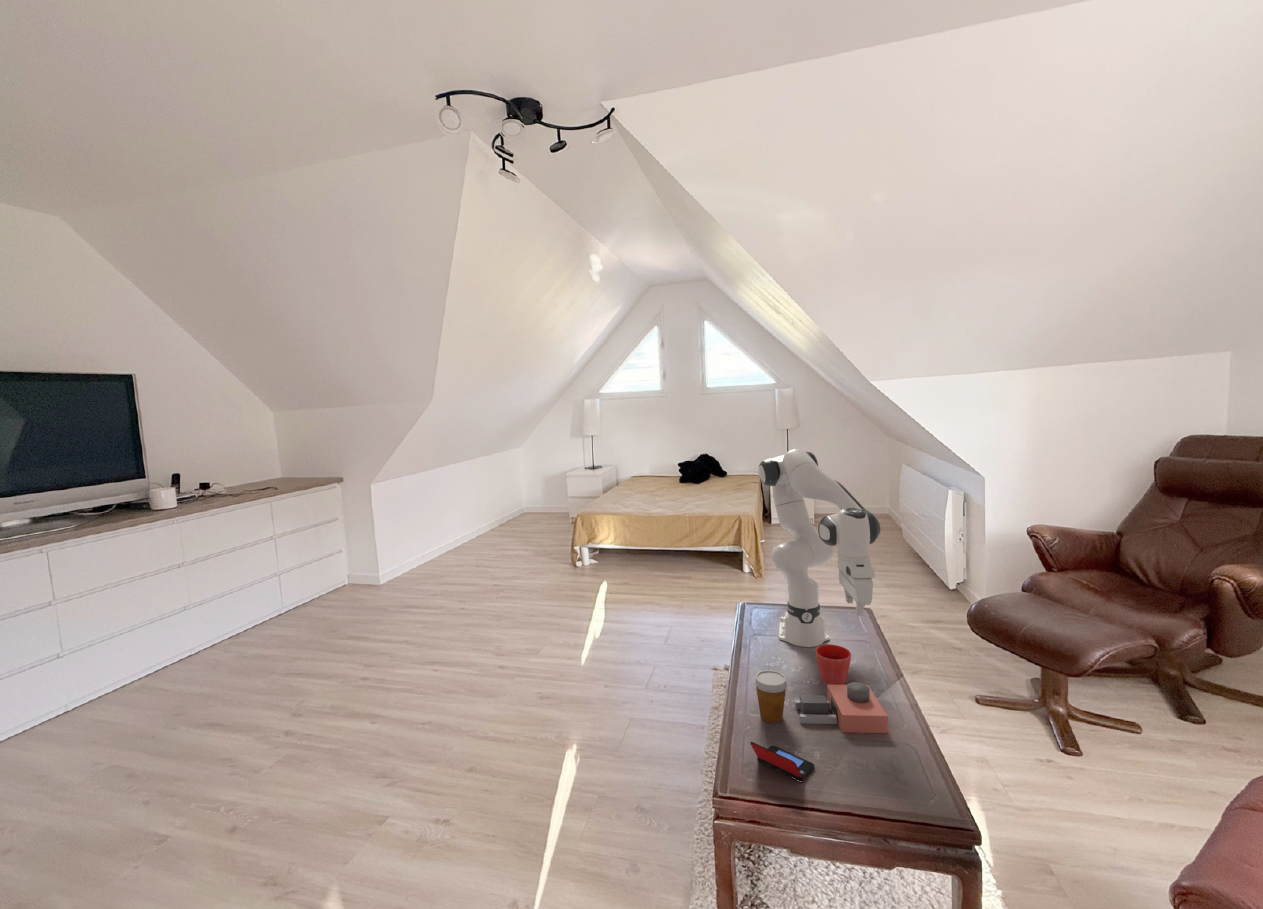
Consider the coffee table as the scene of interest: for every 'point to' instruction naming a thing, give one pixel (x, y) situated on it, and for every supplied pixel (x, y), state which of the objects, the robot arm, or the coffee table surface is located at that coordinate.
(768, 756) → the handheld game console
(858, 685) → the pink block with rods
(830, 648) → the flower pot
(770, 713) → the disposable coffee cup
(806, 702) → the tall grey rectangular block
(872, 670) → the coffee table surface
